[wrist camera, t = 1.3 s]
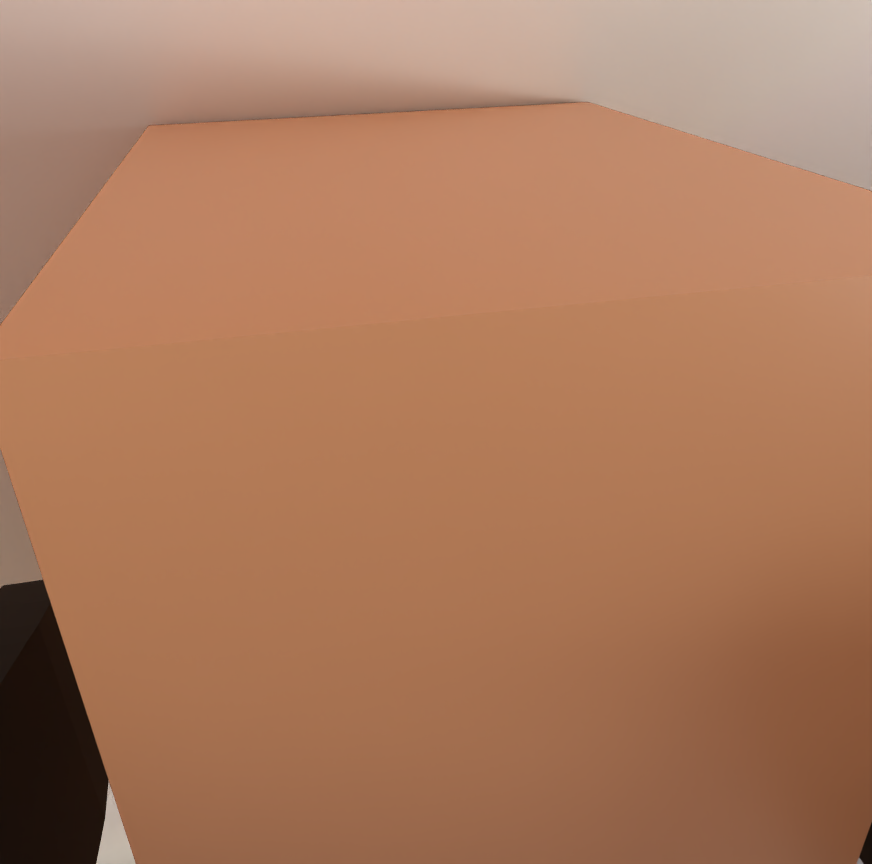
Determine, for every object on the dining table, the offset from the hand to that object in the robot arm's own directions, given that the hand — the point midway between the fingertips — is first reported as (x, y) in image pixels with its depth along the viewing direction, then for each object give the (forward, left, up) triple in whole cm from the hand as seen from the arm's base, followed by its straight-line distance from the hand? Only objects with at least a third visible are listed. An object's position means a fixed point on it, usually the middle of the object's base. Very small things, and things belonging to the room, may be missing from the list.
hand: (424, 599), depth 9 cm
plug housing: (0, 0, -2) cm, 2 cm away
